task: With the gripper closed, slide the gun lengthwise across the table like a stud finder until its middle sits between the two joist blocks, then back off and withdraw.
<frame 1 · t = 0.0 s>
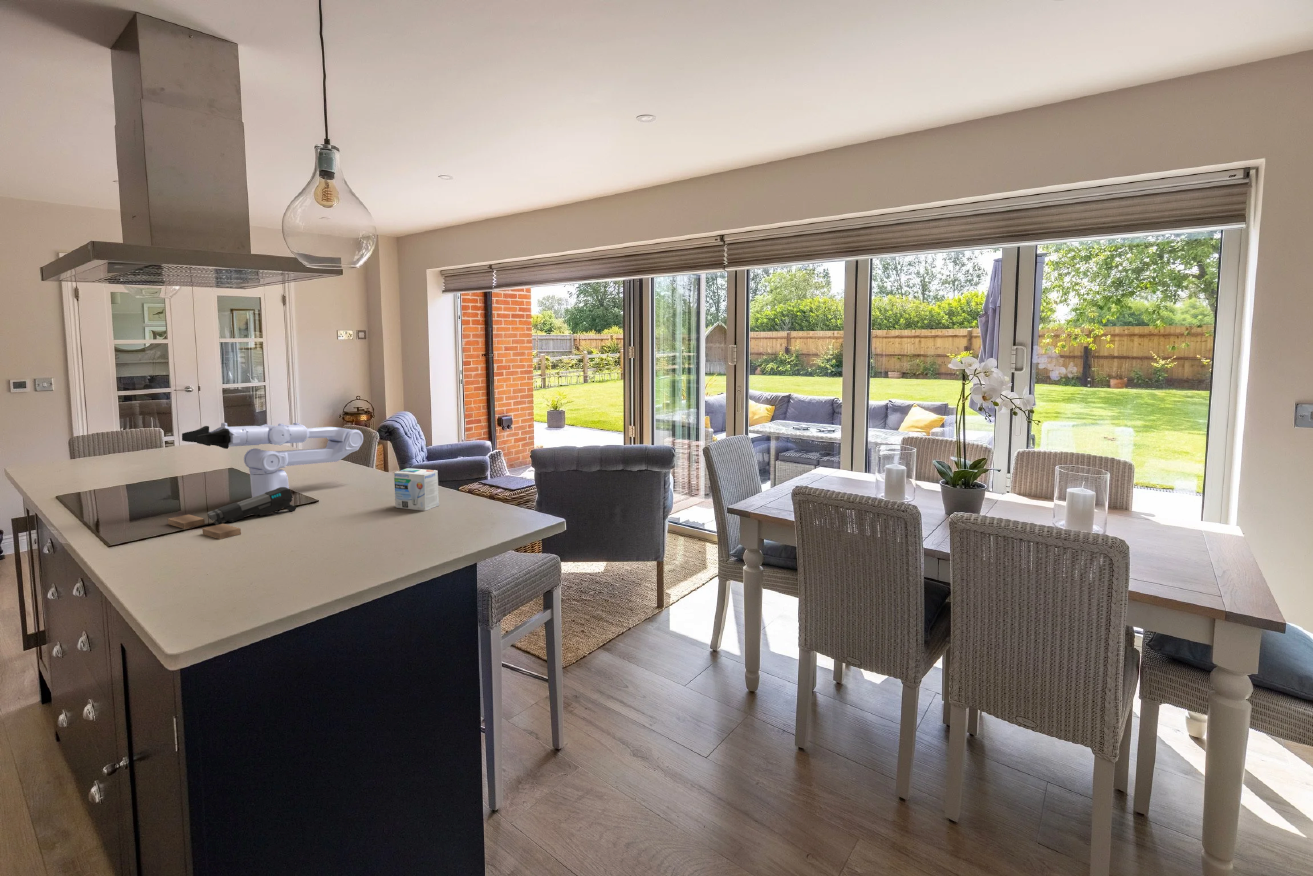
hand: (189, 438, 182), 22 cm above the table, tool horizontal, fingers open, 7 cm apart
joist: (203, 529, 173), on the table
gun: (254, 518, 185), on the table
light bulb box: (417, 507, 197), on the table
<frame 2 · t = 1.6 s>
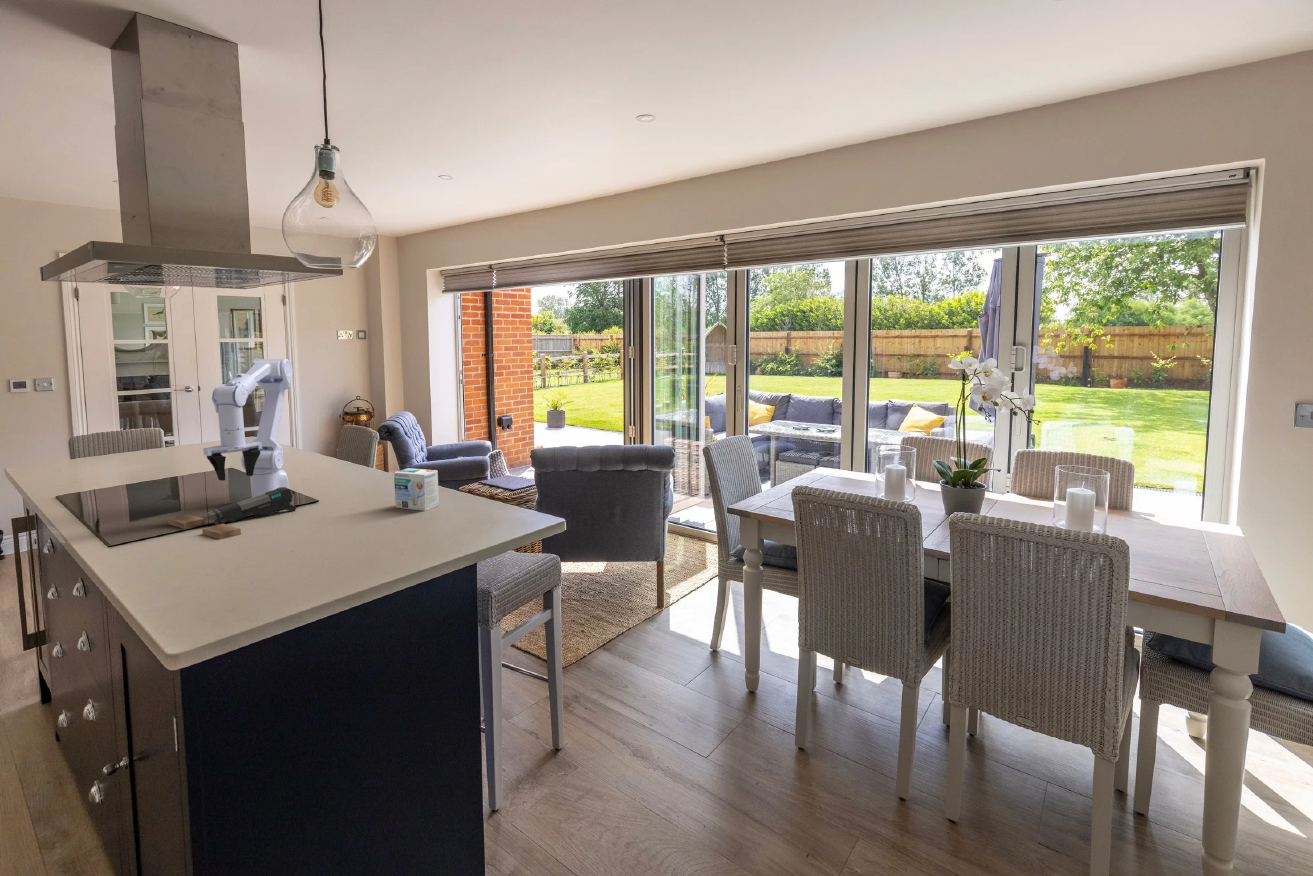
hand: (236, 477, 186), 10 cm above the table, tool pointing down, fingers open, 7 cm apart
nothing on the table moved.
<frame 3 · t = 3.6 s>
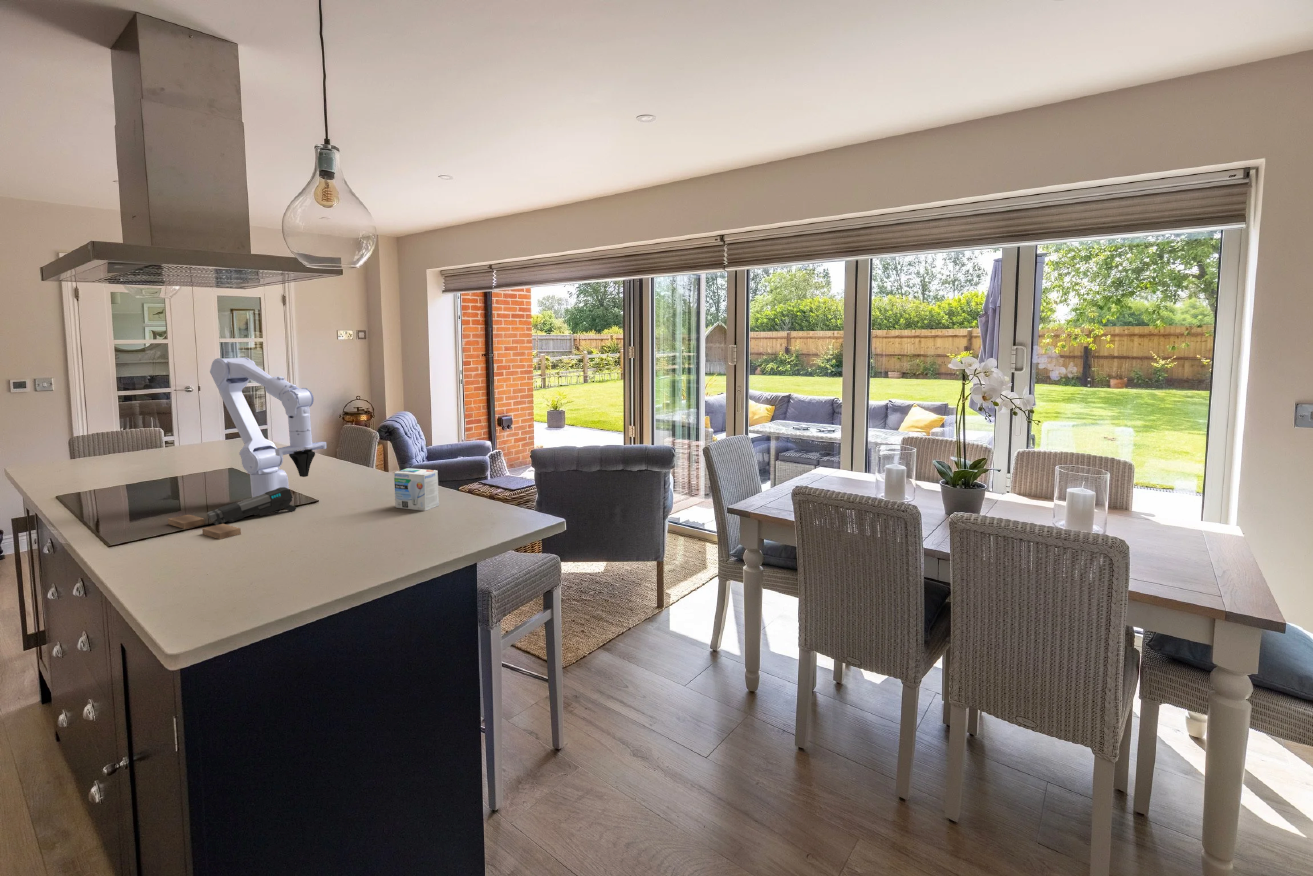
hand: (303, 476, 196), 9 cm above the table, tool pointing down, fingers closed
nothing on the table moved.
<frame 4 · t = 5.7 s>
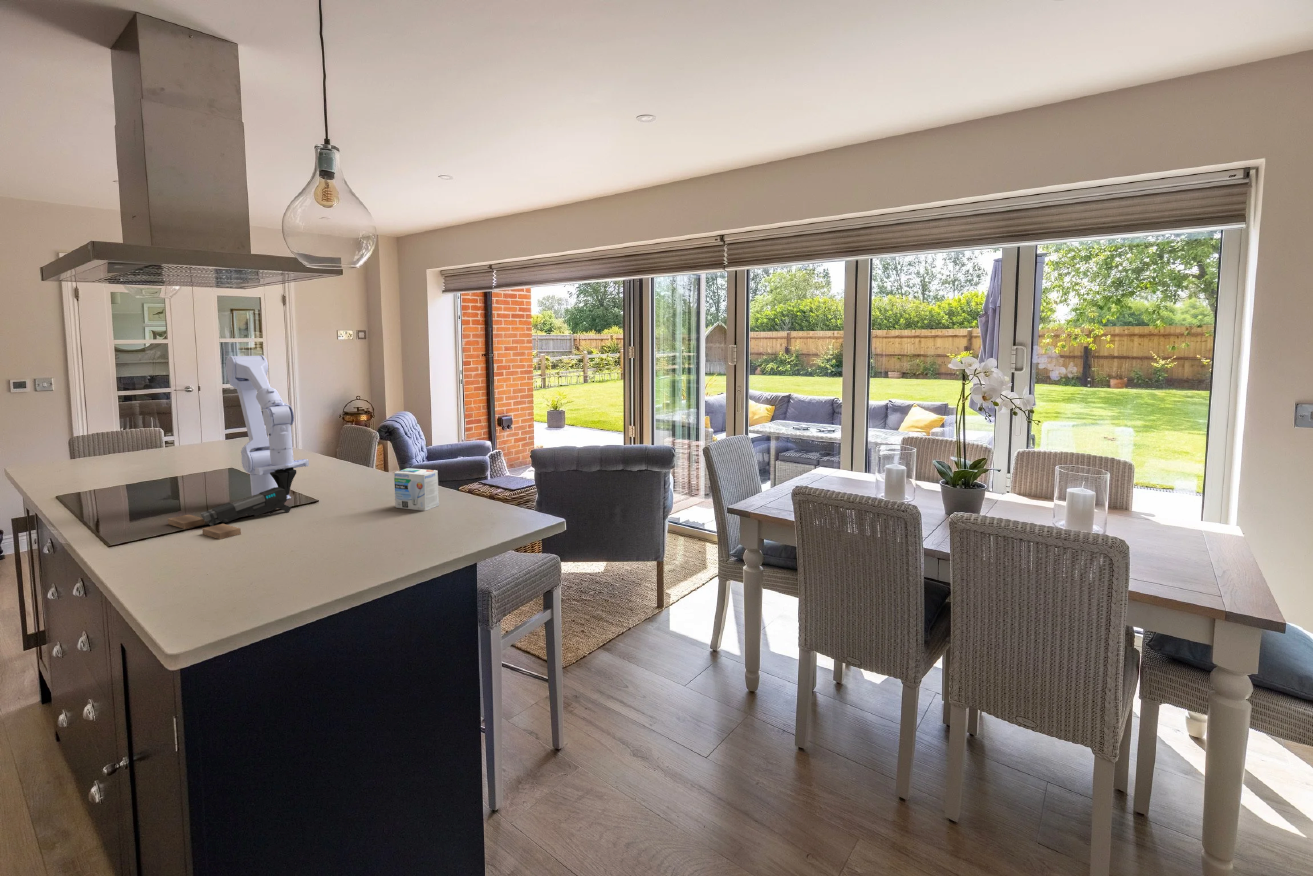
hand: (285, 494, 192), 4 cm above the table, tool pointing down, fingers closed
gun: (249, 519, 183), on the table, touching gripper
everything else where it was.
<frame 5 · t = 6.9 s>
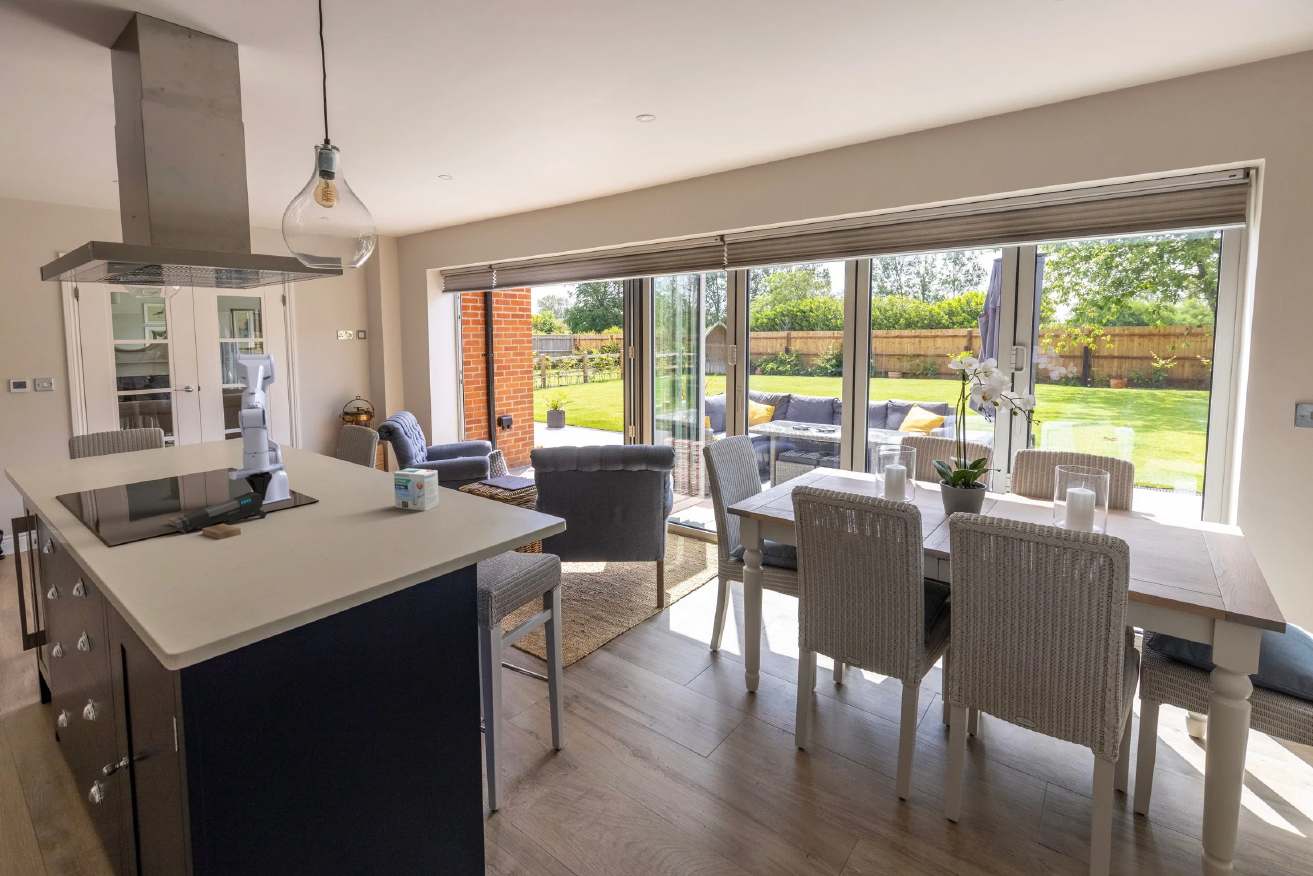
hand: (260, 500, 186), 4 cm above the table, tool pointing down, fingers closed
gun: (223, 525, 177), on the table, touching gripper
everything else where it was.
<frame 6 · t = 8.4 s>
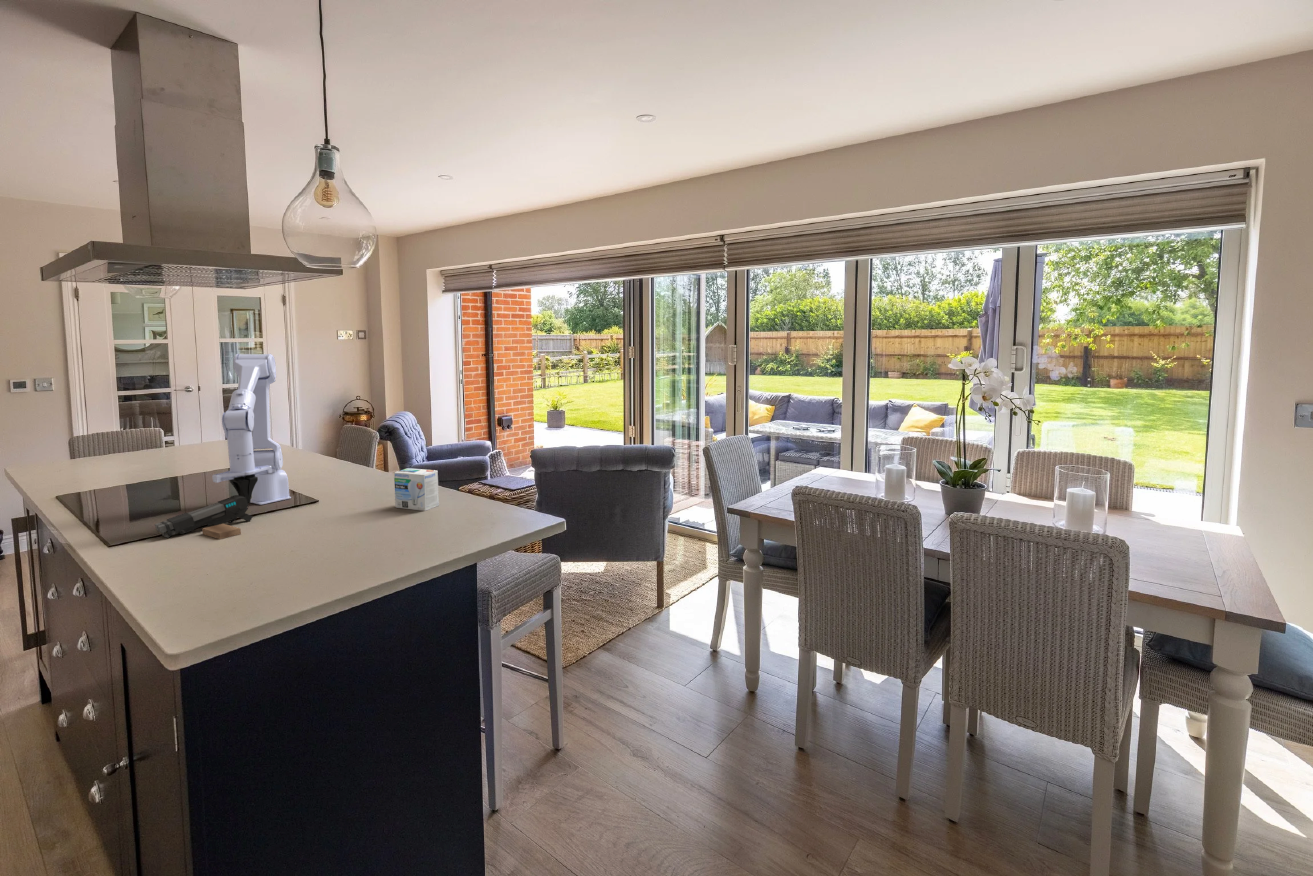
hand: (245, 503, 182), 4 cm above the table, tool pointing down, fingers closed
gun: (207, 529, 173), on the table, touching gripper
everything else where it was.
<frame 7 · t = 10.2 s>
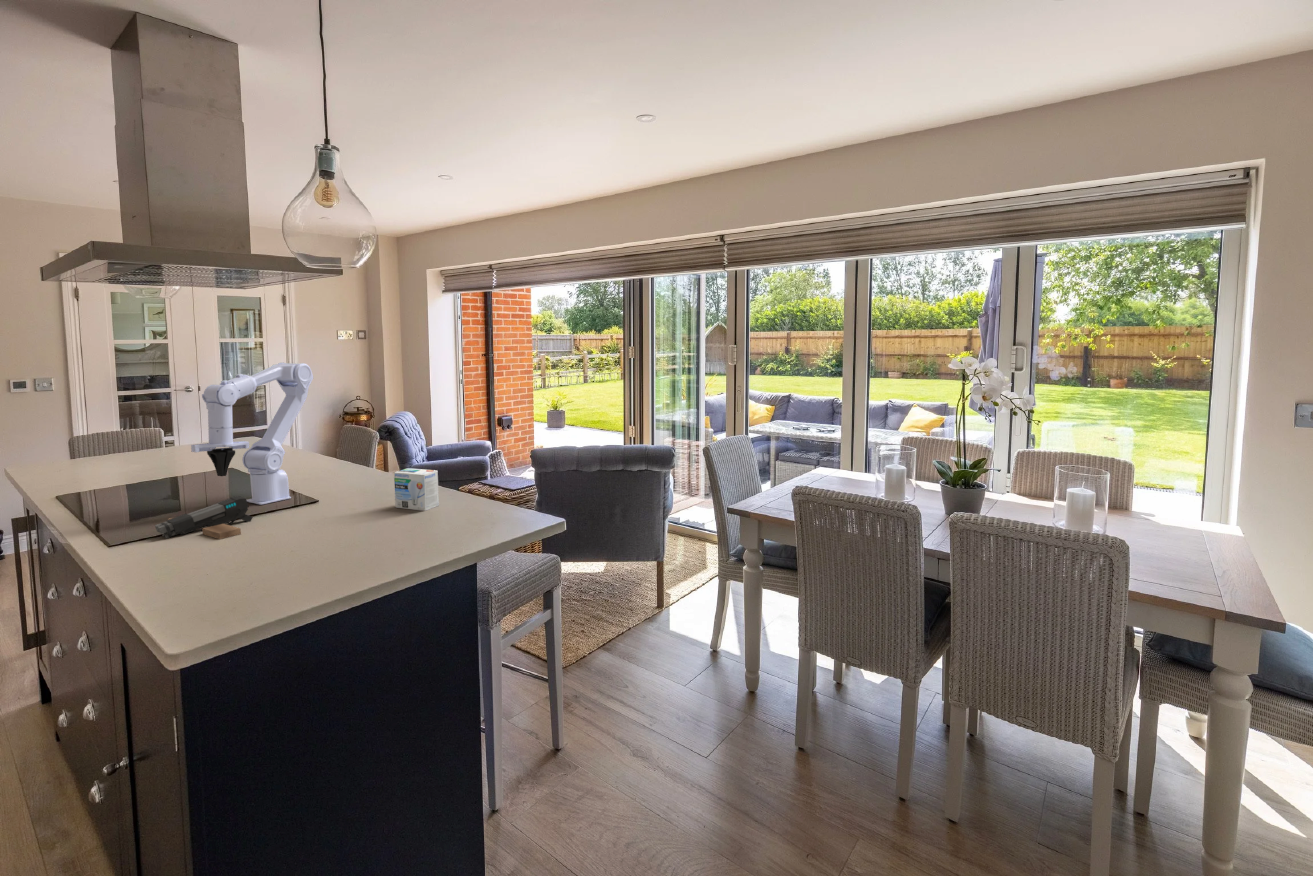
hand: (221, 475, 188), 10 cm above the table, tool pointing down, fingers closed
gun: (207, 530, 174), on the table
everything else where it was.
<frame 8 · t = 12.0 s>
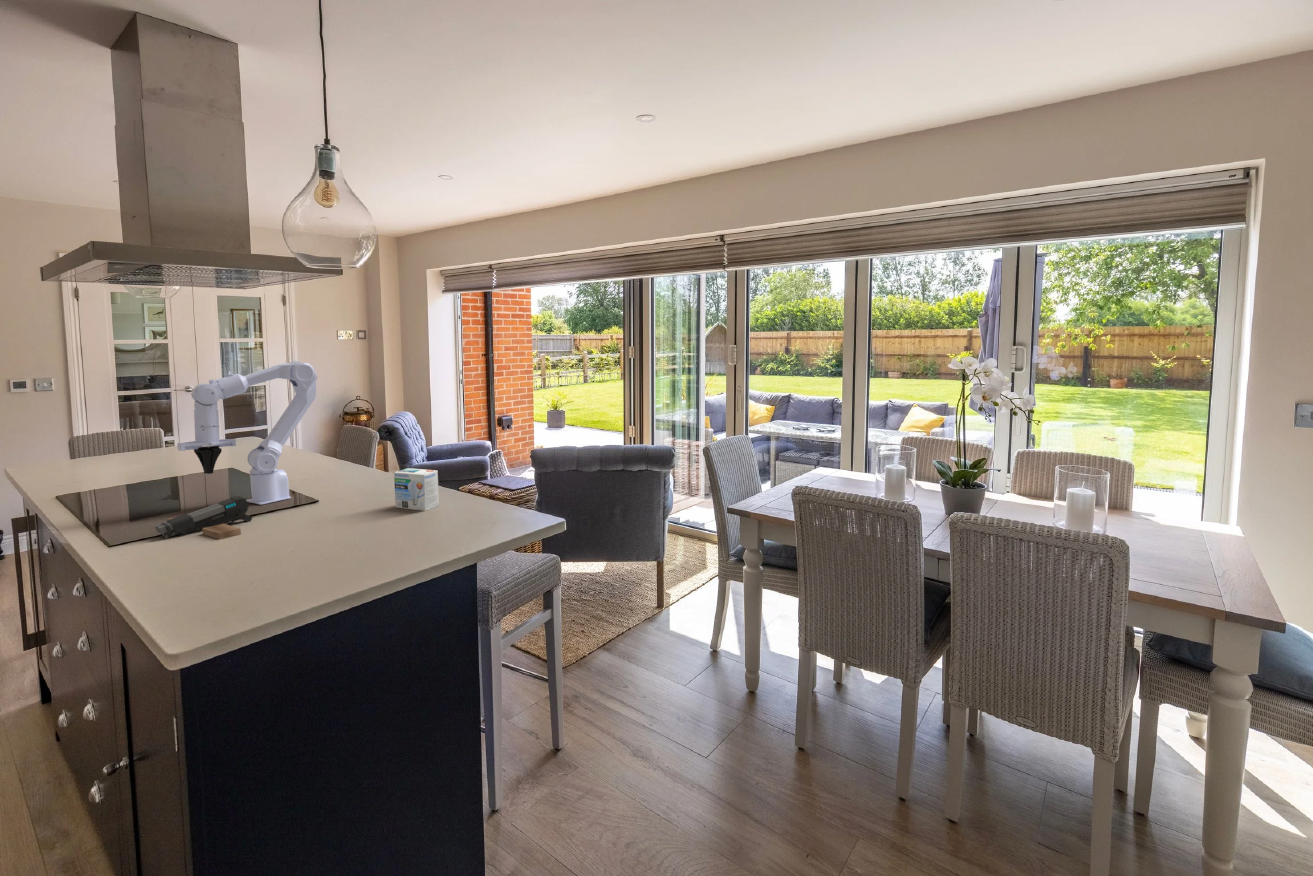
hand: (208, 473, 191), 10 cm above the table, tool pointing down, fingers closed
nothing on the table moved.
at the end: gun 0.9 cm off-centre on the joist, point -0.5 cm above the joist's base; gun tilted 2°; gun moved 12.6 cm from its start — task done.
